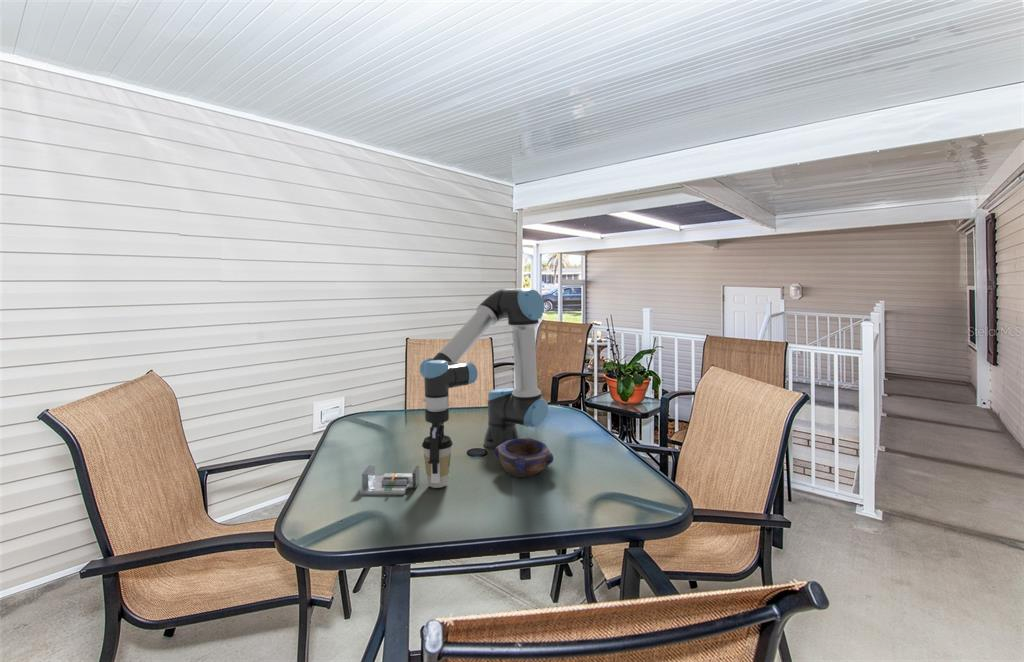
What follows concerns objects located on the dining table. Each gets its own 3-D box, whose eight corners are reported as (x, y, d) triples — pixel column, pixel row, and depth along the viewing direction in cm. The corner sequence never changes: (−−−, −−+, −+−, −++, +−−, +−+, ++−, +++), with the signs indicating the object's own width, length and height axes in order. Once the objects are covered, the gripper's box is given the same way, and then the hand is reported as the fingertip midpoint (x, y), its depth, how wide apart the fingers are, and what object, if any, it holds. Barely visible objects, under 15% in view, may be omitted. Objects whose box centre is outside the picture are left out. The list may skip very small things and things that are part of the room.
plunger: (419, 480, 153) (419, 466, 153) (414, 490, 145) (414, 475, 145) (386, 480, 153) (386, 466, 152) (379, 491, 145) (379, 475, 145)
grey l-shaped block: (412, 478, 156) (412, 462, 156) (404, 494, 144) (404, 477, 144) (371, 479, 156) (370, 463, 155) (359, 494, 144) (359, 477, 143)
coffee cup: (458, 479, 153) (457, 435, 152) (444, 492, 144) (443, 445, 143) (432, 475, 156) (431, 432, 155) (416, 487, 147) (416, 442, 146)
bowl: (513, 487, 149) (513, 457, 148) (489, 468, 165) (489, 441, 164) (559, 477, 158) (559, 449, 157) (532, 460, 173) (533, 434, 173)
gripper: (430, 400, 159) (431, 464, 161) (418, 417, 137) (420, 490, 139) (452, 400, 159) (453, 464, 161) (443, 417, 137) (444, 490, 139)
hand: (437, 476), depth 150 cm, fingers closed on coffee cup, 9 cm apart
